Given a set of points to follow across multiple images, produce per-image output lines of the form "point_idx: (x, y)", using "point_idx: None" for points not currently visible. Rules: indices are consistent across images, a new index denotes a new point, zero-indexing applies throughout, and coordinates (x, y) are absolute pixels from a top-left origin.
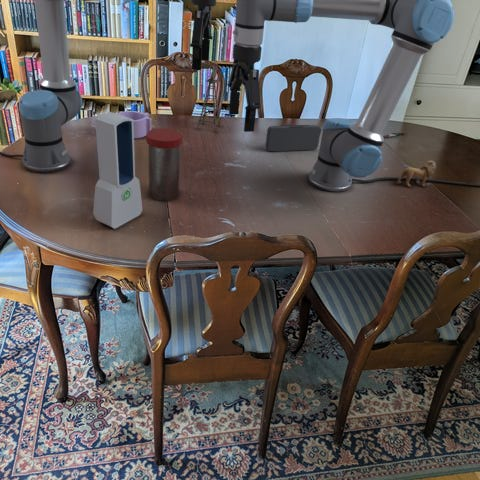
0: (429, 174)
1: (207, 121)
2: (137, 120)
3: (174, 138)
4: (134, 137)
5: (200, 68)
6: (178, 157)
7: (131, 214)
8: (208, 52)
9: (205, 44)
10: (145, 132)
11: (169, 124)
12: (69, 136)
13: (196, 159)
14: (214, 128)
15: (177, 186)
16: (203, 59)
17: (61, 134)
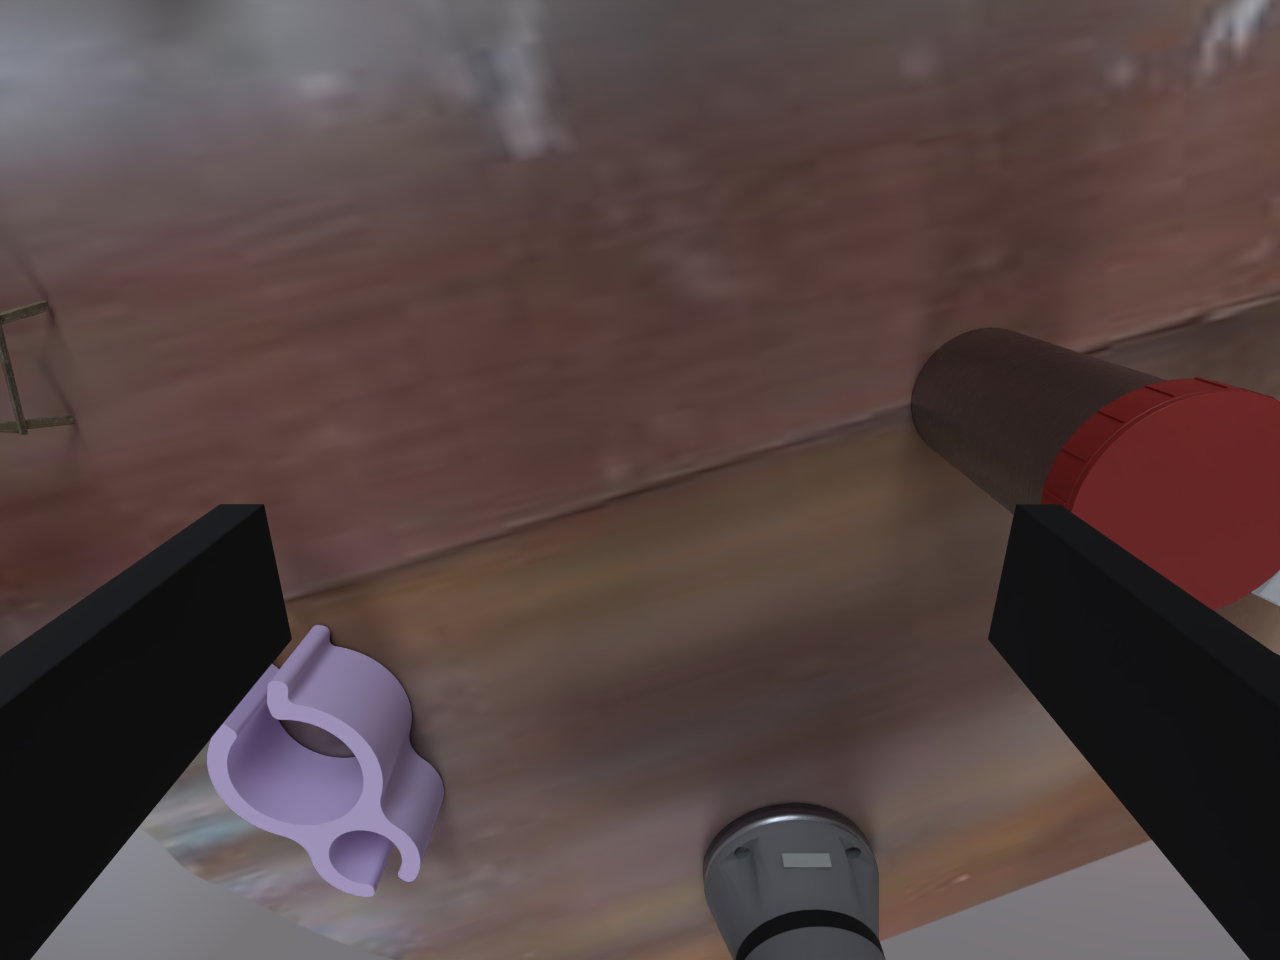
0: None
1: (7, 375)
2: (345, 732)
3: (1269, 430)
4: (397, 684)
5: (1081, 520)
6: (1136, 371)
7: None
8: (163, 595)
9: (52, 793)
10: (334, 657)
11: (103, 583)
12: (501, 895)
13: (527, 333)
14: (31, 315)
15: (1035, 339)
16: (270, 603)
17: (801, 937)
